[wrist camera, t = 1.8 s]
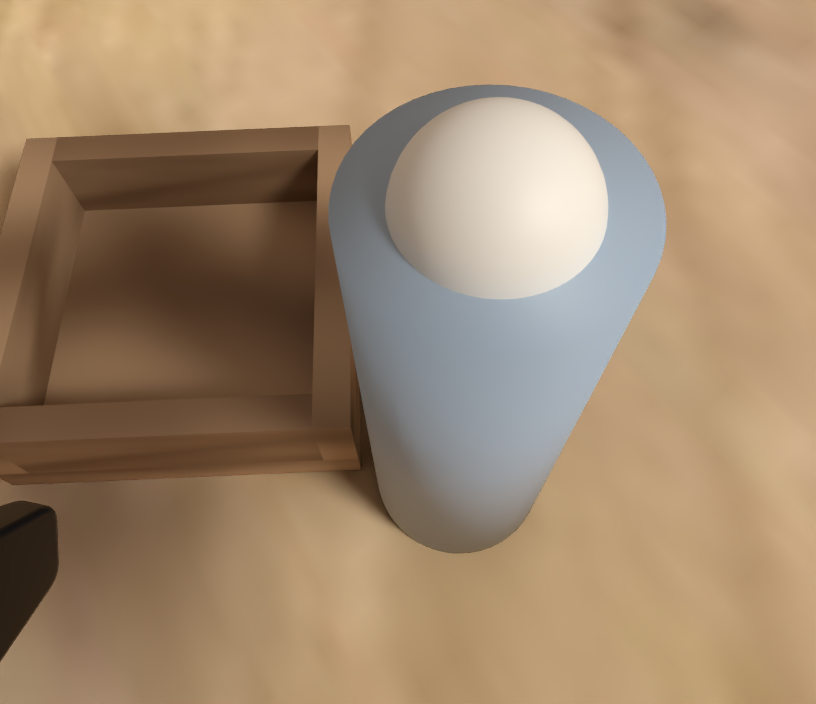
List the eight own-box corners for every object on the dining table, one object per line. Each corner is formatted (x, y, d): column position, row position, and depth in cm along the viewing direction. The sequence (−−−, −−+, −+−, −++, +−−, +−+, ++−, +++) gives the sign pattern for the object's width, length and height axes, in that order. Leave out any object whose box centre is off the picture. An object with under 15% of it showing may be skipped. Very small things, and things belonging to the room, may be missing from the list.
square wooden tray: (360, 469, 21) (350, 427, 18) (12, 484, 21) (-58, 445, 18) (357, 195, 26) (349, 124, 23) (73, 207, 26) (26, 138, 23)
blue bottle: (570, 472, 21) (779, 132, 9) (459, 589, 20) (522, 378, 7) (455, 369, 23) (494, -40, 10) (344, 471, 21) (237, 133, 9)
